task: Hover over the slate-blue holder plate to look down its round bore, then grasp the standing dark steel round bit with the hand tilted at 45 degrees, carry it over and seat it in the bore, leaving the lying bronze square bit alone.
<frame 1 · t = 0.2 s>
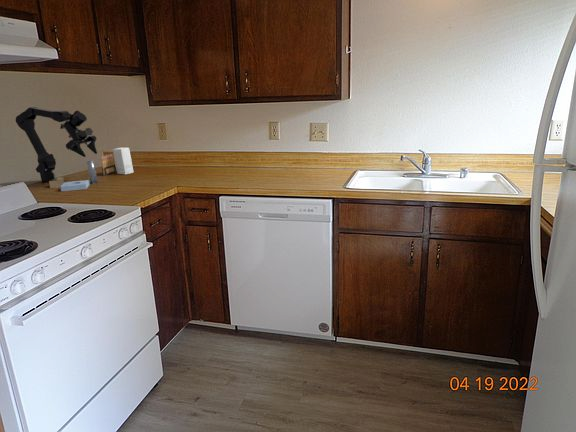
hand: (90, 155, 233), 15 cm above the counter, tool tilted 30°, fingers open, 9 cm apart
round bit: (94, 182, 235), on the counter
holder: (75, 187, 224), on the counter
square bit: (57, 186, 231), on the counter
brown flat upright board: (110, 174, 259), on the counter
skincare box: (125, 173, 259), on the counter
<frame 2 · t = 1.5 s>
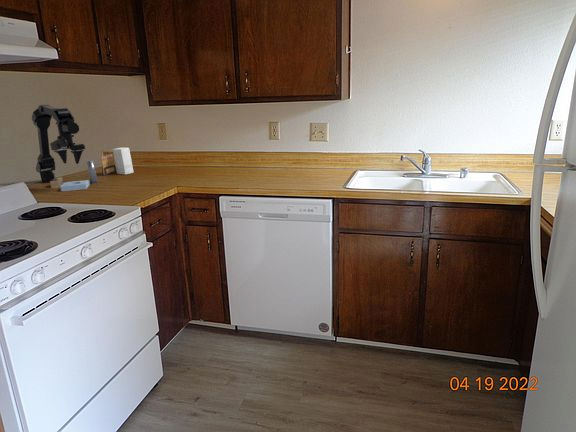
hand: (71, 163, 220), 13 cm above the counter, tool pointing down, fingers open, 9 cm apart
nothing on the counter moved.
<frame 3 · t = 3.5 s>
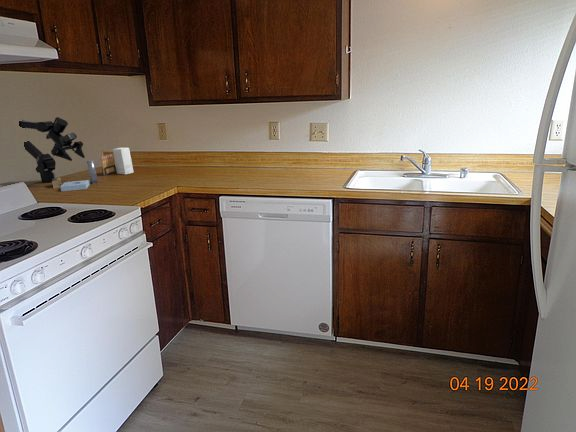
hand: (78, 158, 233), 13 cm above the counter, tool tilted 45°, fingers open, 9 cm apart
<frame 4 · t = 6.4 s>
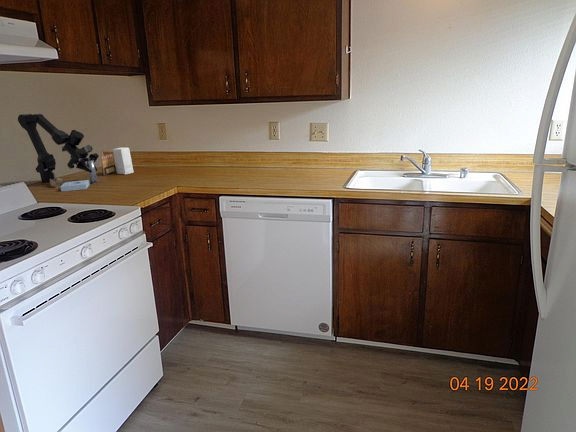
hand: (94, 171, 232), 7 cm above the counter, tool tilted 45°, fingers closed on round bit, 4 cm apart
round bit: (94, 182, 235), on the counter, touching gripper
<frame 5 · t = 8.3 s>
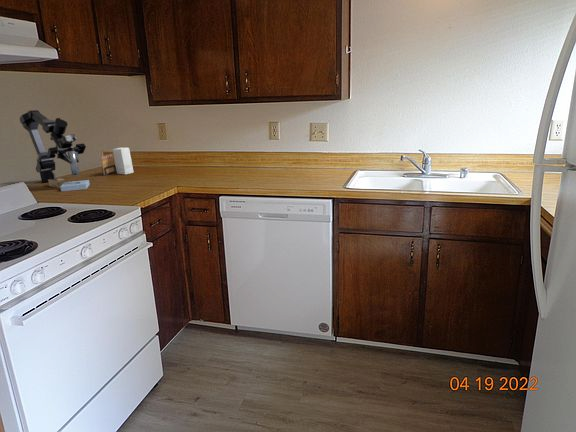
hand: (74, 162, 220), 13 cm above the counter, tool tilted 45°, fingers closed on round bit, 4 cm apart
round bit: (75, 174, 223), point 7 cm above the counter, touching gripper
when the fingers open (7 cm above the counter, at t = 10.1 s): round bit stays where it is, resting in holder.
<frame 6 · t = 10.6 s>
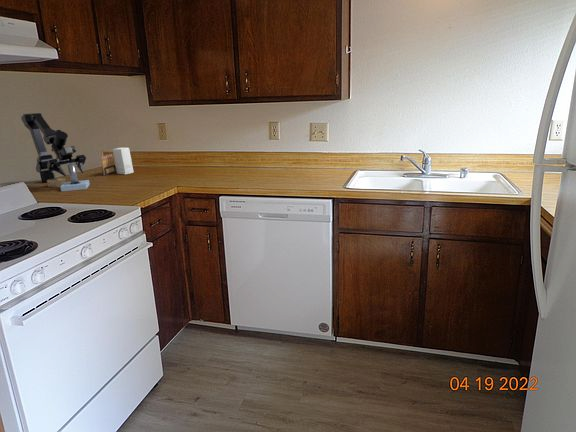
hand: (74, 174, 221), 8 cm above the counter, tool tilted 45°, fingers open, 9 cm apart
round bit: (75, 187, 224), resting in holder
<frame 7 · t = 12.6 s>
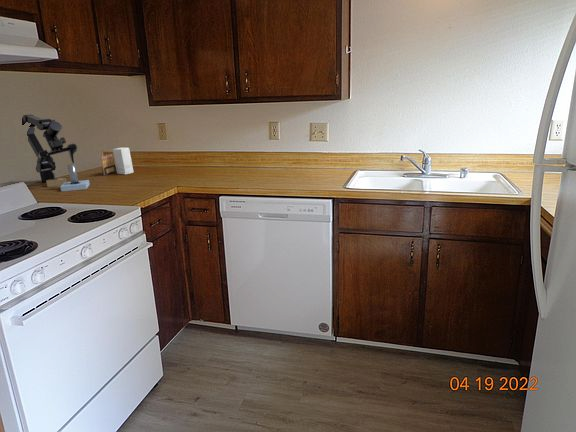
hand: (64, 165, 228), 11 cm above the counter, tool tilted 30°, fingers open, 9 cm apart
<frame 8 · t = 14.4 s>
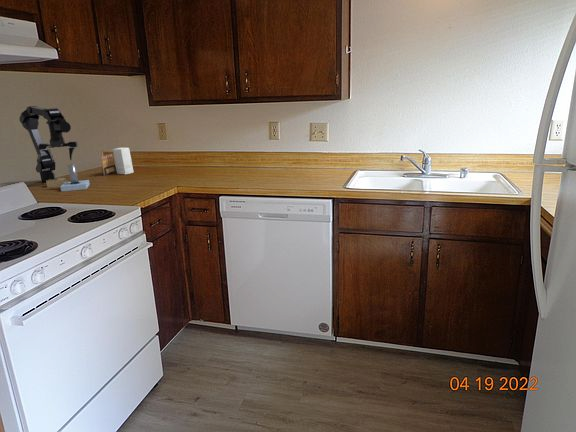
hand: (61, 161, 231), 13 cm above the counter, tool pointing down, fingers open, 9 cm apart
at the end: round bit 0.0 cm off-centre on the holder, point 0.0 cm above the holder's base; round bit tilted 0°; the gripper is holding nothing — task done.
